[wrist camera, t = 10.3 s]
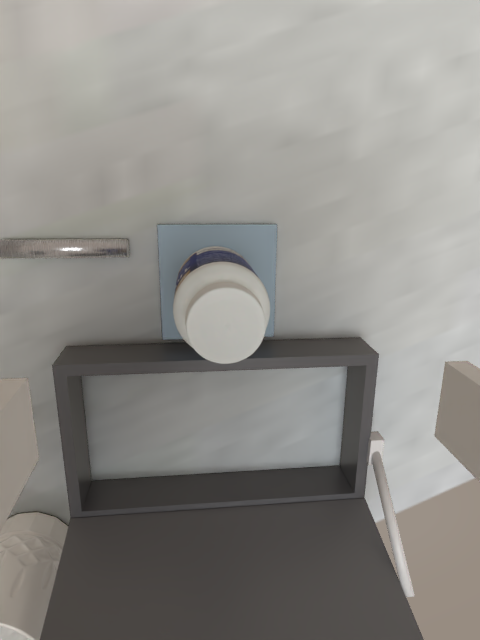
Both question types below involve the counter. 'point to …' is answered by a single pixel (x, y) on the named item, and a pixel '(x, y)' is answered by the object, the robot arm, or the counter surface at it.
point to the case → (228, 525)
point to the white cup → (28, 572)
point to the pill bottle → (220, 305)
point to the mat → (188, 238)
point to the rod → (64, 248)
